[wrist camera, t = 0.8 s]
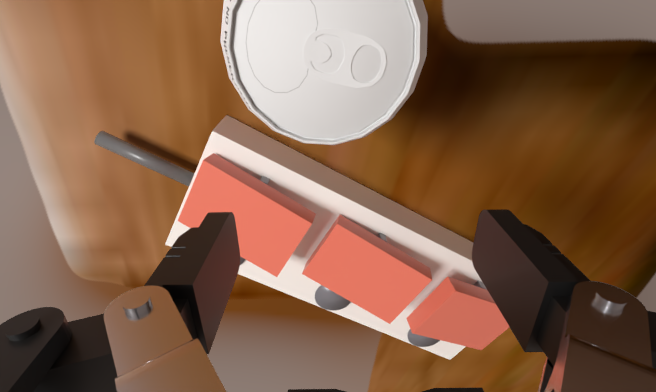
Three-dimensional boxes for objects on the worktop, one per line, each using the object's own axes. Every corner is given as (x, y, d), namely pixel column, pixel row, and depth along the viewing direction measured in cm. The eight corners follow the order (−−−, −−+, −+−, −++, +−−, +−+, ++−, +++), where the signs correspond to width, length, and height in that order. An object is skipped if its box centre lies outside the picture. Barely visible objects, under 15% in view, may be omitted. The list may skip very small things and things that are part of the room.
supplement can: (264, 68, 27) (202, 134, 14) (282, -59, 23) (220, -129, 10) (364, 93, 28) (393, 177, 15) (398, -24, 24) (478, -49, 11)
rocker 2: (447, 276, 30) (455, 290, 29) (515, 299, 33) (525, 313, 32) (406, 318, 33) (412, 333, 31) (473, 335, 36) (481, 350, 35)
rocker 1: (213, 152, 26) (203, 159, 25) (316, 213, 27) (312, 223, 25) (188, 211, 29) (177, 220, 27) (282, 265, 30) (277, 277, 28)
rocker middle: (339, 214, 29) (337, 223, 27) (430, 268, 30) (432, 279, 28) (306, 263, 31) (301, 273, 30) (389, 311, 32) (389, 324, 31)
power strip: (129, 64, 27) (92, 77, 23) (512, 262, 37) (536, 297, 32) (98, 183, 32) (63, 211, 28) (440, 329, 42) (452, 367, 38)
